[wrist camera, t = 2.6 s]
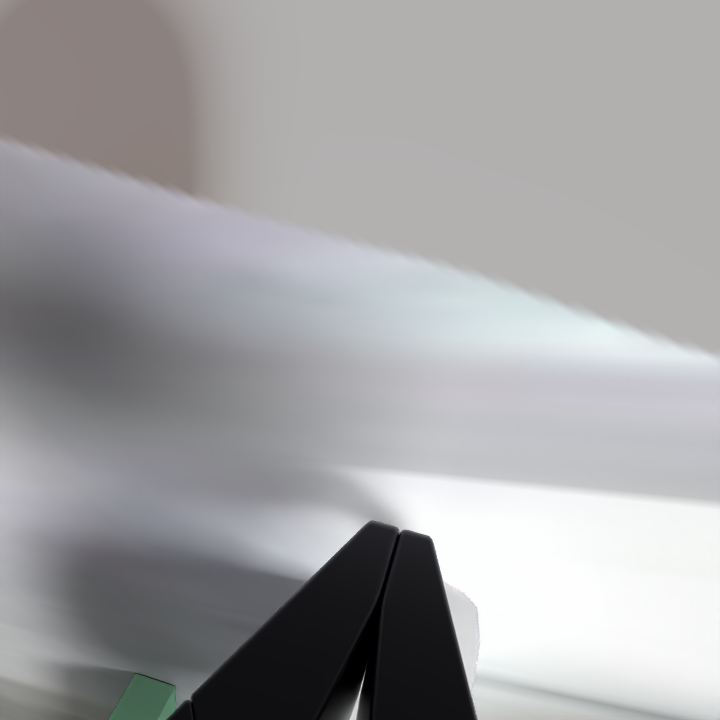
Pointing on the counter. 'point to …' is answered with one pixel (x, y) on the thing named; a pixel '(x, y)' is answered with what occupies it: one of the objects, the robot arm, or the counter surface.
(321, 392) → the counter surface
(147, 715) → the pocket
